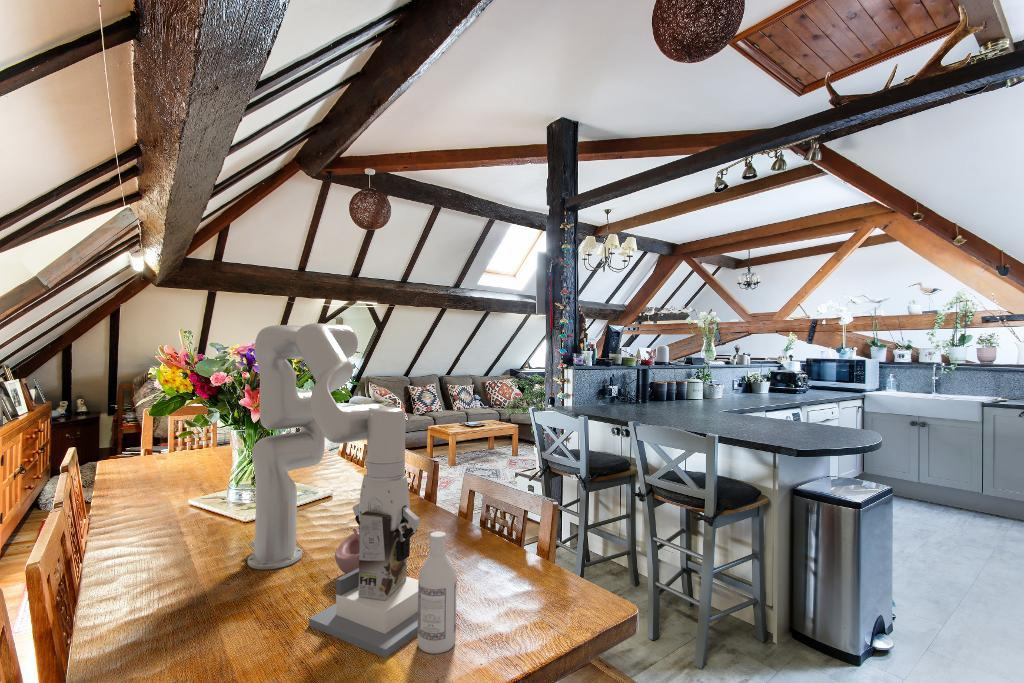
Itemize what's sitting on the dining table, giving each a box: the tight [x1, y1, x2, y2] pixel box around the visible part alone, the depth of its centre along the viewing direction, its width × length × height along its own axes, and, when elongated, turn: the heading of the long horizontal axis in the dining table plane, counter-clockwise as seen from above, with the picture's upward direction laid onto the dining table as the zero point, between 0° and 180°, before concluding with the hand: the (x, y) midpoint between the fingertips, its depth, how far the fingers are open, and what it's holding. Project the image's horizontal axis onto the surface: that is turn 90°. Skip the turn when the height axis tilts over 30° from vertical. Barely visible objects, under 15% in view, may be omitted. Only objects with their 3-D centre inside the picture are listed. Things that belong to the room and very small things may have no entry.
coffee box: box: [358, 511, 408, 601], centre depth 101 cm, size 9×6×16 cm
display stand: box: [308, 568, 419, 659], centre depth 101 cm, size 20×20×8 cm
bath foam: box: [417, 531, 458, 655], centre depth 92 cm, size 7×7×20 cm
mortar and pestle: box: [334, 527, 360, 575], centre depth 119 cm, size 12×12×12 cm
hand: (384, 553), depth 101 cm, fingers open, 9 cm apart
